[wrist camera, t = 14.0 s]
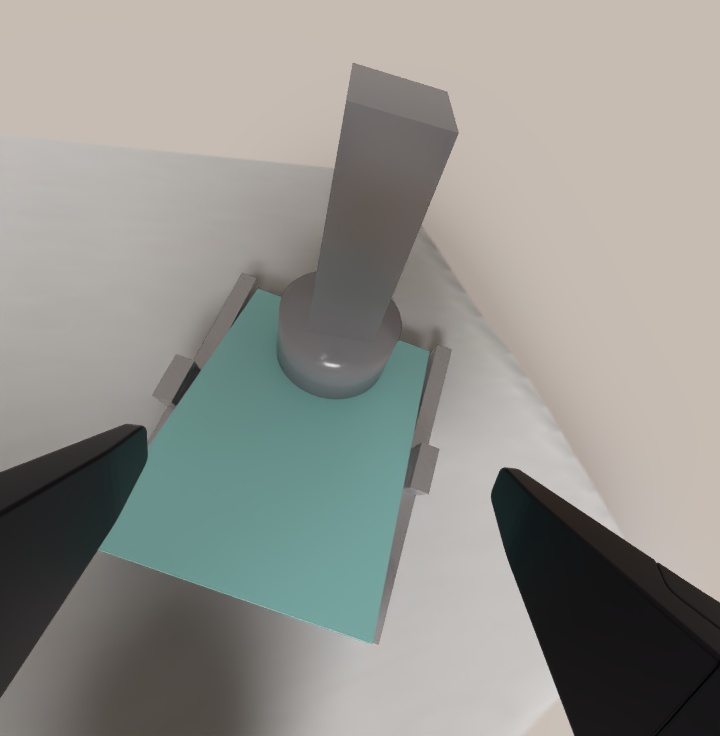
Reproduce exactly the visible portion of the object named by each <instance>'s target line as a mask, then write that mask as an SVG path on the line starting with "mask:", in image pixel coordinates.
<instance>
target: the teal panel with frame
mask: <svg viewBox="0 0 720 736" xmlns="http://www.w3.org/2000/svg"><path fill="white" fill-rule="evenodd" d="M257 289H258V283H257V278H255V277H252V276H249V275H247V274H244V273H242V274H241V276H240V278H239V280H238V281H237V283H236V285H235V287H234V289H233V290H232V292H231V294H230V296H229V298H228V299H227V301H226V303H225V305H224V307H223V308H222V310H221V312H220V314H219V316H218V317H217V319H216V321H215V323H214V325H213V326H212V328H211V330H210V332H209V334H208V335H207V337H206V339H205V341H204V342H203V344H202V346H201V348H200V350H199V351H198V353H197V355H196V357H195V359H194V360H191V359H188V358H185V357H182V356H180V355H177V354H176V355H175V357H174V359H173V360H172V362H171V364H170V366H169V367H168V369H167V371H166V372H165V374H164V376H163V378H162V379H161V381H160V383H159V384H158V386H157V388H156V390H155V391H154V393H153V395H152V396H154V397H155V398H156V399H158V400H159V401H160V402H162V403H163V404H164V405H166V406H167V409H166V411H165V412H164V414H163V416H162V418H161V420H160V421H159V423H158V425H157V427H156V429H155V430H154V432H153V434H152V436H151V438H150V439H149V441H148V443H147V445H148V447H149V445H150V444H151V442H152V441H153V439H154V438H155V436H156V435H157V434H158V432H159V431H160V429H161V428H162V426H163V425H164V423H165V422H166V421H167V419H168V418H169V416H170V415H171V413H172V412H173V410H174V409H175V408H176V406H177V405H178V403H179V402H180V400H181V399H182V397H183V396H184V395H185V393H186V392H187V390H188V389H189V387H190V386H191V384H192V383H193V382H194V380H195V379H196V377H197V376H198V374H199V373H200V371H201V370H202V369H203V367H204V366H205V364H206V363H207V361H208V360H209V359H210V357H211V356H212V354H213V353H214V351H215V350H216V348H217V347H218V346H219V344H220V343H221V341H222V340H223V338H224V337H225V335H226V334H227V333H228V331H229V330H230V328H231V327H232V325H233V324H234V322H235V321H236V320H237V318H238V317H239V315H240V314H241V312H242V311H243V309H244V308H245V307H246V305H247V304H248V302H249V301H250V299H251V298H252V296H253V295H254V294H255V292H256V291H257ZM450 354H451V349H448V348H446V347H443V346H440V345H437V346H436V347H435V348H434V349H433V351H432V352H431V353H430V354H429V357H428V362H427V368H426V373H425V378H424V383H423V388H422V393H421V398H420V404H419V409H418V414H417V419H416V424H415V429H414V434H413V440H412V445H411V450H410V455H409V460H408V465H407V470H406V476H405V481H404V486H403V491H402V496H401V501H400V506H399V512H398V517H397V522H396V527H395V532H394V537H393V543H392V548H391V553H390V558H389V563H388V568H387V573H386V579H385V584H384V589H383V594H382V599H381V604H380V609H379V615H378V620H377V625H376V630H375V635H374V640H373V643H376V644H379V641H380V637H381V633H382V629H383V625H384V621H385V617H386V613H387V609H388V605H389V601H390V596H391V592H392V588H393V584H394V580H395V576H396V572H397V568H398V564H399V560H400V556H401V552H402V548H403V544H404V540H405V536H406V532H407V528H408V524H409V520H410V516H411V512H412V508H413V504H414V500H415V496H416V495H423V494H429V491H430V486H431V482H432V478H433V474H434V469H435V465H436V461H437V457H438V452H439V449H438V448H435V447H433V446H430V445H428V443H429V439H430V435H431V431H432V427H433V423H434V419H435V415H436V411H437V407H438V403H439V399H440V395H441V390H442V386H443V382H444V378H445V374H446V370H447V366H448V362H449V358H450Z"/></svg>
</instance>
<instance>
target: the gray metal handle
mask: <svg viewBox="0 0 720 736" xmlns="http://www.w3.org/2000/svg"><path fill="white" fill-rule="evenodd" d="M457 136H458V129H457V125H456V122H455V118H454V115H453V111H452V107H451V104H450V100H449V96H448V93H447V92H446V91H443V90H440V89H436V88H433V87H430V86H427V85H424V84H420V83H417V82H414V81H410V80H407V79H404V78H401V77H398V76H394V75H391V74H387V73H384V72H381V71H378V70H374V69H371V68H368V67H365V66H362V65H358V64H355V63H353V65H352V71H351V76H350V82H349V88H348V94H347V100H346V105H345V111H344V117H343V123H342V129H341V135H340V140H339V146H338V152H337V158H336V164H335V169H334V175H333V181H332V187H331V193H330V199H329V204H328V210H327V216H326V222H325V228H324V234H323V239H322V245H321V251H320V257H319V263H318V269H317V272H313V273H309V274H306V275H304V276H302V277H300V278H298V279H296V280H295V281H293V282H292V283H291V284H290V285H289V286H288V287H287V288H286V290H285V291H284V293H283V295H282V297H281V300H280V306H279V320H278V333H277V347H276V352H277V359H278V362H279V365H280V367H281V369H282V371H283V372H284V374H285V375H286V376H287V378H288V379H289V380H290V381H291V382H292V383H293V384H295V385H296V386H297V387H299V388H300V389H302V390H303V391H305V392H307V393H309V394H312V395H315V396H318V397H322V398H326V399H347V398H352V397H356V396H358V395H361V394H363V393H364V392H366V391H368V390H369V389H370V388H372V387H373V386H374V385H375V384H376V382H377V381H378V380H379V378H380V376H381V374H382V372H383V370H384V368H385V366H386V364H387V362H388V360H389V358H390V356H391V354H392V352H393V350H394V348H395V346H396V344H397V342H398V339H399V337H400V334H401V329H402V322H401V316H400V313H399V311H398V308H397V306H396V305H395V303H394V301H393V300H392V299H391V297H392V295H393V292H394V290H395V287H396V285H397V283H398V280H399V278H400V275H401V273H402V270H403V268H404V265H405V263H406V261H407V258H408V256H409V253H410V251H411V248H412V246H413V243H414V241H415V239H416V236H417V234H418V231H419V229H420V226H421V224H422V221H423V219H424V217H425V214H426V212H427V209H428V207H429V204H430V201H431V199H432V197H433V195H434V192H435V190H436V187H437V185H438V182H439V180H440V177H441V175H442V172H443V170H444V168H445V165H446V163H447V160H448V158H449V155H450V153H451V150H452V148H453V146H454V143H455V140H456V138H457Z"/></svg>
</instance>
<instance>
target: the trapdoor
mask: <svg viewBox="0 0 720 736" xmlns="http://www.w3.org/2000/svg"><path fill="white" fill-rule="evenodd" d="M280 300H281V297H280V296H278V295H275V294H272V293H270V292H267V291H264V290H261V289H259V288H258V289H257V291H256V292H255V294H254V295H253V296H252V298H251V299H250V301H249V302H248V304H247V305H246V307H245V308H244V309H243V311H242V312H241V314H240V315H239V317H238V318H237V320H236V321H235V322H234V324H233V325H232V327H231V328H230V330H229V331H228V333H227V334H226V335H225V337H224V338H223V340H222V341H221V343H220V344H219V346H218V347H217V348H216V350H215V351H214V353H213V354H212V356H211V357H210V359H209V360H208V361H207V363H206V364H205V366H204V367H203V369H202V370H201V371H200V373H199V374H198V376H197V377H196V379H195V380H194V382H193V383H192V384H191V386H190V387H189V389H188V390H187V392H186V393H185V395H184V396H183V397H182V399H181V400H180V402H179V403H178V405H177V406H176V408H175V409H174V410H173V412H172V413H171V415H170V416H169V418H168V419H167V421H166V422H165V423H164V425H163V426H162V428H161V429H160V431H159V432H158V434H157V435H156V436H155V438H154V439H153V441H152V442H151V444H150V445H149V447H148V459H147V462H146V465H145V467H144V469H143V471H142V473H141V475H140V477H139V479H138V481H137V483H136V484H135V486H134V488H133V490H132V492H131V494H130V496H129V498H128V500H127V502H126V504H125V506H124V508H123V510H122V512H121V514H120V515H119V517H118V519H117V521H116V523H115V524H114V526H113V527H112V529H111V531H110V532H109V534H108V535H107V537H106V538H105V540H104V541H103V543H102V544H101V546H100V547H99V549H98V550H99V551H101V552H104V553H107V554H110V555H113V556H116V557H119V558H122V559H125V560H128V561H131V562H133V563H136V564H139V565H142V566H145V567H148V568H151V569H154V570H157V571H160V572H162V573H165V574H168V575H171V576H174V577H177V578H180V579H183V580H186V581H189V582H192V583H194V584H197V585H200V586H203V587H206V588H209V589H212V590H215V591H218V592H221V593H223V594H226V595H229V596H232V597H235V598H238V599H241V600H244V601H247V602H250V603H253V604H255V605H258V606H261V607H264V608H267V609H270V610H273V611H276V612H279V613H282V614H284V615H287V616H290V617H293V618H296V619H299V620H302V621H305V622H308V623H311V624H314V625H316V626H319V627H322V628H325V629H328V630H331V631H334V632H337V633H340V634H343V635H345V636H348V637H351V638H354V639H357V640H360V641H363V642H366V643H370V644H373V640H374V635H375V630H376V625H377V620H378V615H379V609H380V604H381V599H382V594H383V589H384V584H385V579H386V573H387V568H388V563H389V558H390V553H391V548H392V543H393V537H394V532H395V527H396V522H397V517H398V512H399V506H400V501H401V496H402V491H403V486H404V481H405V476H406V470H407V465H408V460H409V455H410V450H411V445H412V440H413V434H414V429H415V424H416V419H417V414H418V409H419V404H420V398H421V393H422V388H423V383H424V378H425V373H426V368H427V362H428V357H429V352H430V351H428V350H425V349H422V348H420V347H417V346H414V345H411V344H409V343H406V342H403V341H401V340H398V342H397V344H396V346H395V348H394V350H393V352H392V354H391V356H390V358H389V360H388V362H387V364H386V366H385V368H384V370H383V372H382V374H381V376H380V378H379V380H378V381H377V382H376V384H375V385H374V386H373V387H372V388H370V389H369V390H368V391H366V392H364V393H363V394H361V395H358V396H356V397H352V398H347V399H326V398H322V397H318V396H315V395H312V394H309V393H307V392H305V391H303V390H302V389H300V388H299V387H297V386H296V385H295V384H293V383H292V382H291V381H290V380H289V379H288V378H287V376H286V375H285V374H284V372H283V371H282V369H281V367H280V365H279V362H278V359H277V352H276V347H277V333H278V320H279V306H280Z"/></svg>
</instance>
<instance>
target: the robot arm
mask: <svg viewBox="0 0 720 736" xmlns="http://www.w3.org/2000/svg"><path fill="white" fill-rule="evenodd" d="M147 459H148V445H147V431H146V428H145V427H144V426H141V425H133V424H124V425H122V426H119V427H117V428H114V429H111V430H109V431H106V432H104V433H101V434H98V435H96V436H93V437H91V438H88V439H85V440H83V441H80V442H78V443H75V444H72V445H70V446H67V447H65V448H62V449H59V450H57V451H54V452H52V453H49V454H47V455H44V456H41V457H39V458H36V459H34V460H31V461H28V462H26V463H23V464H21V465H18V466H15V467H13V468H10V469H8V470H5V471H2V472H0V698H1V696H2V695H3V693H4V692H5V690H6V689H7V687H8V686H9V684H10V683H11V681H12V680H13V678H14V677H15V675H16V674H17V672H18V670H19V669H20V667H21V666H22V664H23V663H24V661H25V660H26V658H27V657H28V655H29V654H30V652H31V651H32V649H33V648H34V646H35V645H36V643H37V642H38V640H39V639H40V637H41V636H42V634H43V632H44V631H45V629H46V628H47V626H48V625H49V623H50V622H51V620H52V619H53V617H54V616H55V614H56V613H57V611H58V610H59V608H60V607H61V605H62V604H63V602H64V601H65V599H66V598H67V596H68V594H69V593H70V591H71V590H72V588H73V587H74V585H75V584H76V582H77V581H78V579H79V578H80V576H81V575H82V573H83V572H84V570H85V569H86V567H87V566H88V564H89V563H90V561H91V560H92V558H93V556H94V555H95V553H96V552H97V550H98V549H99V547H100V546H101V544H102V543H103V541H104V540H105V538H106V537H107V535H108V534H109V532H110V531H111V529H112V527H113V526H114V524H115V523H116V521H117V519H118V517H119V515H120V514H121V512H122V510H123V508H124V506H125V504H126V502H127V500H128V498H129V496H130V494H131V492H132V490H133V488H134V486H135V484H136V483H137V481H138V479H139V477H140V475H141V473H142V471H143V469H144V467H145V465H146V462H147ZM491 501H492V505H493V508H494V512H495V516H496V520H497V523H498V527H499V531H500V535H501V538H502V542H503V546H504V549H505V552H506V556H507V559H508V561H509V564H510V567H511V570H512V572H513V575H514V578H515V580H516V583H517V585H518V588H519V591H520V593H521V596H522V599H523V601H524V604H525V607H526V609H527V612H528V614H529V617H530V620H531V622H532V625H533V628H534V630H535V633H536V636H537V638H538V641H539V644H540V646H541V649H542V651H543V654H544V657H545V659H546V662H547V665H548V667H549V670H550V673H551V675H552V678H553V681H554V683H555V686H556V688H557V691H558V694H559V696H560V699H561V702H562V704H563V707H564V709H565V712H566V715H567V717H568V720H569V723H570V725H571V728H572V731H573V733H574V736H720V603H719V602H718V601H717V600H715V599H713V598H712V597H710V596H708V595H707V594H705V593H703V592H702V591H701V590H699V589H697V588H696V587H695V586H693V585H691V584H690V583H688V582H687V581H685V580H684V579H682V578H681V577H679V576H678V575H676V574H675V573H673V572H672V571H670V570H669V569H667V568H666V567H664V566H662V565H661V564H660V563H656V562H655V560H654V559H652V558H651V557H649V556H648V555H646V554H645V553H643V552H642V551H640V550H639V549H637V548H636V547H634V546H632V545H631V544H630V543H628V542H627V541H625V540H624V539H622V538H621V537H619V536H618V535H616V534H615V533H613V532H612V531H610V530H609V529H607V528H606V527H604V526H603V525H601V524H600V523H598V522H597V521H595V520H594V519H592V518H591V517H589V516H588V515H586V514H585V513H583V512H582V511H580V510H579V509H577V508H576V507H574V506H573V505H571V504H570V503H568V502H567V501H565V500H564V499H562V498H561V497H559V496H558V495H556V494H555V493H553V492H552V491H550V490H549V489H547V488H546V487H544V486H543V485H541V484H540V483H538V482H537V481H535V480H534V479H532V478H531V477H529V476H528V475H526V474H525V473H523V472H522V471H520V470H519V469H515V468H506V467H504V468H502V469H501V470H500V471H499V474H498V476H497V479H496V481H495V484H494V486H493V489H492V492H491Z"/></svg>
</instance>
